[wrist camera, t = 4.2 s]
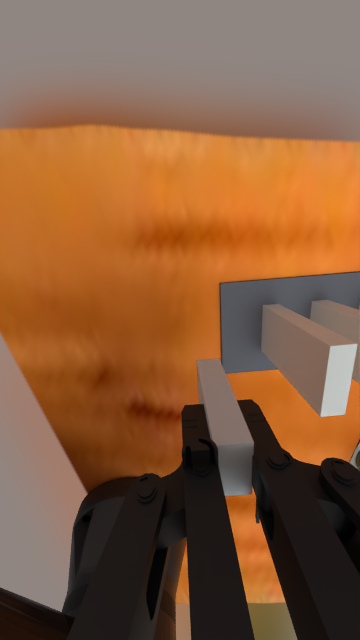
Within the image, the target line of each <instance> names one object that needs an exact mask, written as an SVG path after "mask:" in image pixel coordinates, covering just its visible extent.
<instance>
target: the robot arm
mask: <svg viewBox="0 0 360 640" xmlns="http://www.w3.org/2000/svg"><path fill="white" fill-rule="evenodd" d="M197 376H198V393H199V401H200V404H196V405H185V406H184V408H183V410H182V412H181V414H182V436H183V448H182V459H183V460H182V463H181V465H180V466H179V468H178V469H177V470H176V471H175V472H173V473H171V474H169V475H167V476H165V477H162V478H160V477H159V476H158V475H155V474H153V473H151V474H144V475H142V476H139V477H138V478H126V479H118V480H114V481H110V482H107V483H105V484H102V485H100V486H98V487H97V488H95V489H94V490H92V491H91V492H90V493H89V494H88V495H87V496H86V497H85V498H84V500H83V501H82V503H81V506H80V508H79V511H78V514H77V517H76V520H75V523H74V526H73V532H72V544H71V556H70V557H71V558H70V568H69V581H68V591H67V596H66V599H65V602H64V606H63V609H62V612H60V611H57V610H55V609H52V608H50V607H47V606H45V605H42V604H40V603H37V602H35V601H32V600H30V599H27V598H25V597H22V596H20V595H17V594H15V593H12V592H10V591H7V590H5V589H3V588H0V640H176V618H175V617H176V615H175V614H176V611H175V608H176V607H175V605H176V602H175V599H176V591H177V586H178V581H179V576H180V571H181V566H182V561H183V556H184V551H185V546H186V541H187V556H188V578H189V599H190V620H191V640H255V639H254V634H253V629H252V625H251V620H250V615H249V610H248V605H247V601H246V596H245V591H244V586H243V581H242V576H241V572H240V567H239V562H238V557H237V552H236V548H235V543H234V538H233V533H232V528H231V523H230V519H229V514H228V509H227V504H226V499H225V496H234V495H246V494H252V486H253V489H254V492H255V495H256V523H259V518H260V521H261V524H262V528H263V531H264V534H265V537H266V540H267V543H268V547H269V550H270V553H271V556H272V559H273V563H274V566H275V569H276V572H277V575H278V578H279V582H280V585H281V588H282V591H283V594H284V598H285V601H286V604H287V607H288V610H289V613H290V617H291V620H292V623H293V626H294V629H295V633H296V636H297V639H298V640H360V470H359V469H357V468H356V467H355V466H353V465H352V464H350V463H348V462H346V461H344V460H342V459H338V458H326V459H325V460H323V461H322V463H321V466H318V465H313V464H309V463H304V462H301V461H298V460H296V459H294V458H293V457H292V456H291V455H290V453H288V452H287V451H285V450H284V449H282V448H281V446H280V444H279V443H278V441H277V439H276V437H275V435H274V433H273V431H272V429H271V428H270V426H269V424H268V422H267V421H266V418H265V416H264V415H263V413H262V411H261V409H260V407H259V405H257V404H256V403H255V402H254V401H253V400H251V399H249V400H236V398H235V395H234V393H233V390H232V388H231V385H230V383H229V381H228V378H227V376H226V373H225V371H224V368H223V366H222V363H221V361H220V359H206V360H197Z"/></svg>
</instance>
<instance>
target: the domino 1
mask: <svg viewBox="0 0 360 640" xmlns="http://www.w3.org/2000/svg"><path fill="white" fill-rule="evenodd" d="M357 345H358V344H357V343H355V342H353V341H351V340H349V339H347V338H345V337H343V336H341V335H339V334H337V333H335V332H333V331H331V330H329V329H327V328H325V327H323V326H321V325H319V324H317V323H315V322H314V321H312V320H310V319H308V318H306V317H304V316H302V315H300V314H298V313H296V312H294V311H292V310H290V309H288V308H286V307H284V306H282V305H280V304H270V305H263V312H262V338H261V351H262V352H263V353H264V354H265V355H266V356H267V357H268V359H269V360H270V361H271V362H272V363H273V364H274V365H275V366H276V368H277V369H278V370H279V371H280V372H281V373H282V374H283V375H284V377H285V378H286V379H287V380H288V381H289V382H290V383H291V384H292V386H293V387H294V388H295V389H296V390H297V391H298V392H299V393H300V395H301V396H302V397H303V398H304V399H305V400H306V401H307V402H308V403H309V405H310V406H311V407H312V408H313V409H314V410H315V411H316V412H317V414H318V415H319V416H320V417H324V416H335V415H345V411H346V405H347V400H348V394H349V389H350V383H351V378H352V372H353V367H354V361H355V356H356V350H357Z"/></svg>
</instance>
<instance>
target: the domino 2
mask: <svg viewBox="0 0 360 640" xmlns="http://www.w3.org/2000/svg"><path fill="white" fill-rule="evenodd" d="M310 320H312V321H314V322H315V323H317V324H319V325H321V326H323V327H325V328H327V329H329V330H331V331H333V332H335V333H337V334H339V335H341V336H343V337H345V338H347V339H349V340H351V341H353V342H355V343H357V344H358V345H357V350H356V356H355V361H354V367H353V372H352V379H354V380H355V381H357V382H358V383H359V384H360V310H358V309H355V308H352V307H349V306H345V305H342V304H339V303H336V302H333V301H330V300H319V301H312V305H311V314H310Z"/></svg>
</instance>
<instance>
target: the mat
mask: <svg viewBox="0 0 360 640" xmlns="http://www.w3.org/2000/svg"><path fill="white" fill-rule="evenodd" d="M319 300H330V301H333V302H336V303H339V304H342V305H345V306H349V307H352V308H355V309H358V310H359V304H360V272H350V273H338V274H326V275H314V276H301V277H289V278H277V279H265V280H252V281H240V282H228V283H220V308H221V355H222V366H223V368H224V371H225V373H226V374H228V373H239V372H251V371H262V370H274V369H277V368H276V366H275V365H274V364H273V363H272V362H271V361H270V360H269V359H268V357H267V356H266V355H265V354H264V353H263V352H262V351H261V338H262V312H263V305H270V304H280V305H282V306H284V307H286V308H288V309H290V310H292V311H294V312H296V313H298V314H300V315H302V316H304V317H306V318H308V319H310V314H311V305H312V301H319Z"/></svg>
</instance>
